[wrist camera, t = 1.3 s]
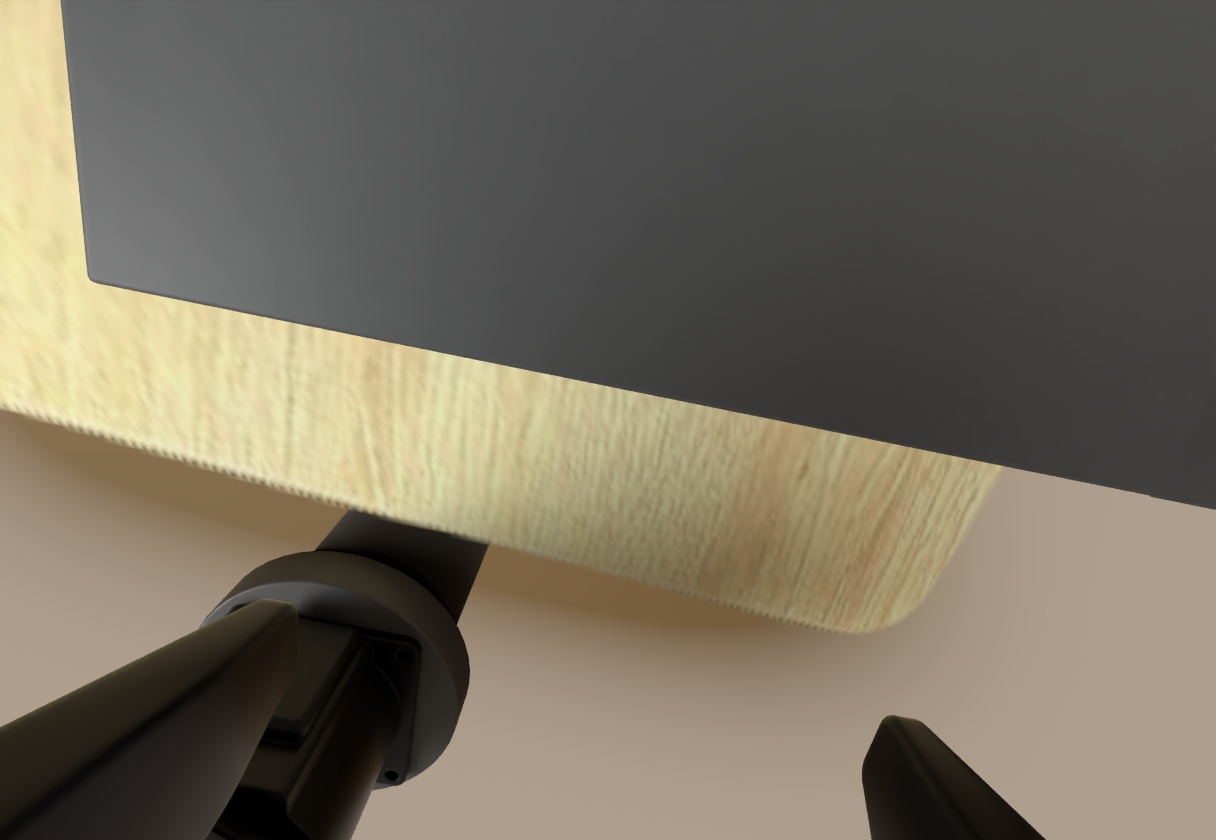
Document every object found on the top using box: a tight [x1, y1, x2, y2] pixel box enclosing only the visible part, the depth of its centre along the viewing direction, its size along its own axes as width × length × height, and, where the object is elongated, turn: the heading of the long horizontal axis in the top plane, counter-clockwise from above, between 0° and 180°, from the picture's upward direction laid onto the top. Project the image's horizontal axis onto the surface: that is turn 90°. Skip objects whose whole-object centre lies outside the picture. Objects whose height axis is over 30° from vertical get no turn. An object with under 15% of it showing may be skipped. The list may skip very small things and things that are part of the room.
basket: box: [61, 0, 1216, 510], centre depth 11 cm, size 8×12×13 cm, turn 79°
